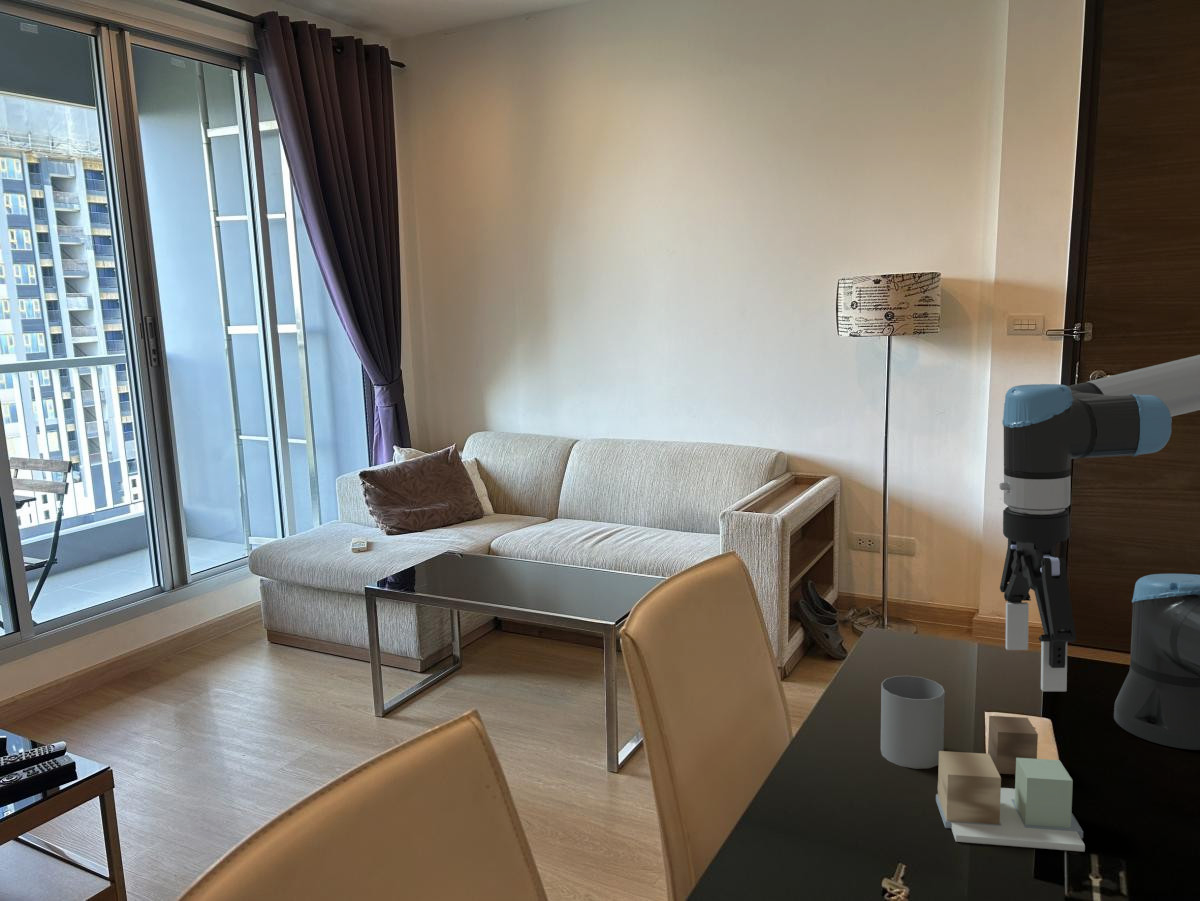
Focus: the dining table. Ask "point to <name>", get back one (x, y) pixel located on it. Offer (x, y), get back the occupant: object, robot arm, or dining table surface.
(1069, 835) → the board
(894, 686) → the cup
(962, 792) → the oak base
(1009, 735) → the walnut block
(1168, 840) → the dining table surface
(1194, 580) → the robot arm
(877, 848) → the dining table surface
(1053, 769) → the sage block
